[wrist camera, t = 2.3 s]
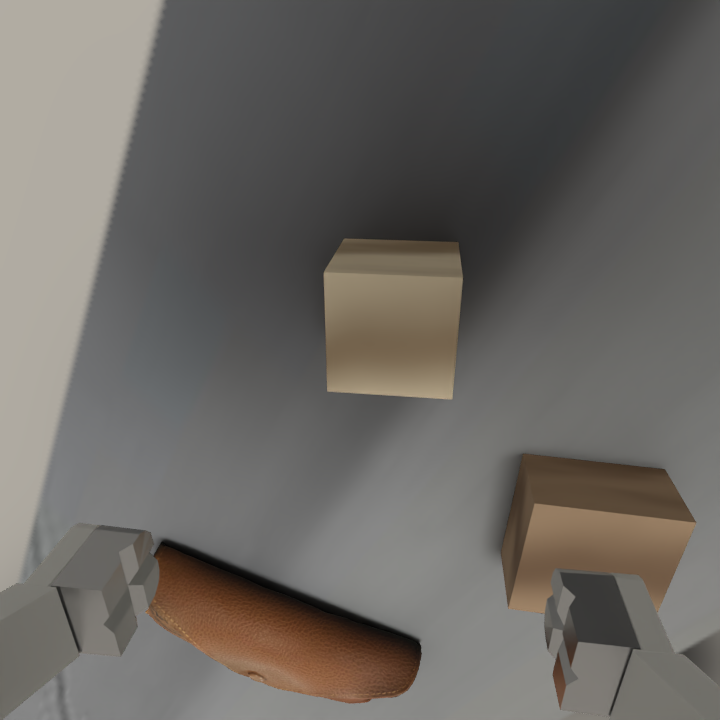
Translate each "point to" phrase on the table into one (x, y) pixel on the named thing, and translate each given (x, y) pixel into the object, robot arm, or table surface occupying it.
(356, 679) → the sunglasses case
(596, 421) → the table surface
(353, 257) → the beech block
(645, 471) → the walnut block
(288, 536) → the table surface
